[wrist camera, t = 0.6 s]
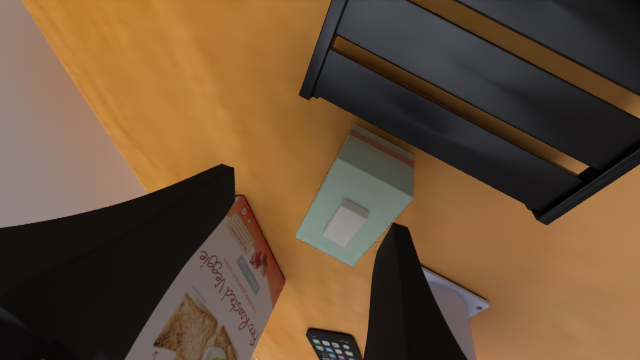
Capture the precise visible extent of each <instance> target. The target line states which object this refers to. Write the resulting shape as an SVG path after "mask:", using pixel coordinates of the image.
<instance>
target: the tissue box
mask: <svg viewBox="0 0 640 360" xmlns="http://www.w3.org/2000/svg"><path fill="white" fill-rule="evenodd" d="M413 198H414V155H413V154H411V153H410V152H408V151H406V150H404V149H402V148H400V147H398V146H396V145H394V144H392V143H390V142H389V141H387V140H385V139H383V138H381V137H379V136H377V135H375V134H373V133H371V132H369V131H368V130H366V129H364V128H362V127H360V126H358V125H356V124H354V125H353V127H352V129H351V130H350V132H349V134H348V136H347V138H346V139H345V141H344V143H343V145H342V147H341V149H340V151H339V153H338V155H337V156H336V158H335V160H334V162H333V164H332V166H331V168H330V170H329V172H328V173H327V175H326V177H325V179H324V181H323V183H322V185H321V187H320V189H319V190H318V192H317V194H316V196H315V198H314V200H313V202H312V204H311V206H310V208H309V210H308V212H307V214H306V216H305V218H304V219H303V221H302V223H301V225H300V227H299V229H298V231H297V233H296V235H295V237H296V238H298V239H300V240H302V241H304V242H306V243H308V244H309V245H311V246H313V247H315V248H317V249H319V250H321V251H323V252H324V253H326V254H328V255H330V256H332V257H334V258H336V259H338V260H339V261H341V262H343V263H345V264H347V265H349V266H351V267H353V266H354V265H355V264H356V263H357V261H358V260H359V259H360V258H361V257H362V256H363V255H364V253H365V252H366V251H367V250H368V249H369V248H370V247H371V246H372V244H373V243H374V242H375V241H376V240H377V239H378V238H379V237H380V235H381V234H382V233H383V232H384V231H385V230H386V229H387V228H388V226H389V225H390V224H391V223H392V222H393V221H394V220H395V219H396V217H397V216H398V215H399V214H400V213H401V212H402V211H403V210H404V208H405V207H406V206H407V205H408V204H409V203H410V202H411V200H412V199H413Z"/></svg>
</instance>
